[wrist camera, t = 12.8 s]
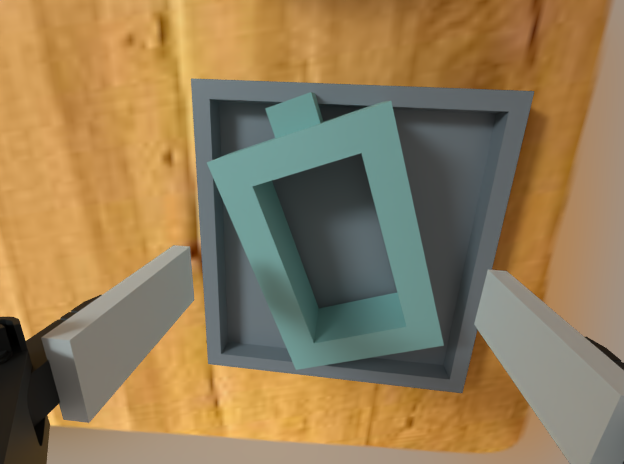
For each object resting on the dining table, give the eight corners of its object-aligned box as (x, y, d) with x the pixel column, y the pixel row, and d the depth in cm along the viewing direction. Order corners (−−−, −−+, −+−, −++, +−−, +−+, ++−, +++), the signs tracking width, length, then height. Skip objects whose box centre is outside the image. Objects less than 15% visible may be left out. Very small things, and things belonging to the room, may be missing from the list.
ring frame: (221, 127, 18) (193, 131, 15) (375, 71, 16) (383, 62, 13) (303, 332, 23) (295, 369, 20) (429, 308, 21) (443, 345, 18)
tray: (206, 84, 19) (190, 78, 17) (513, 96, 18) (534, 91, 16) (218, 346, 25) (208, 363, 23) (452, 372, 23) (462, 393, 21)
